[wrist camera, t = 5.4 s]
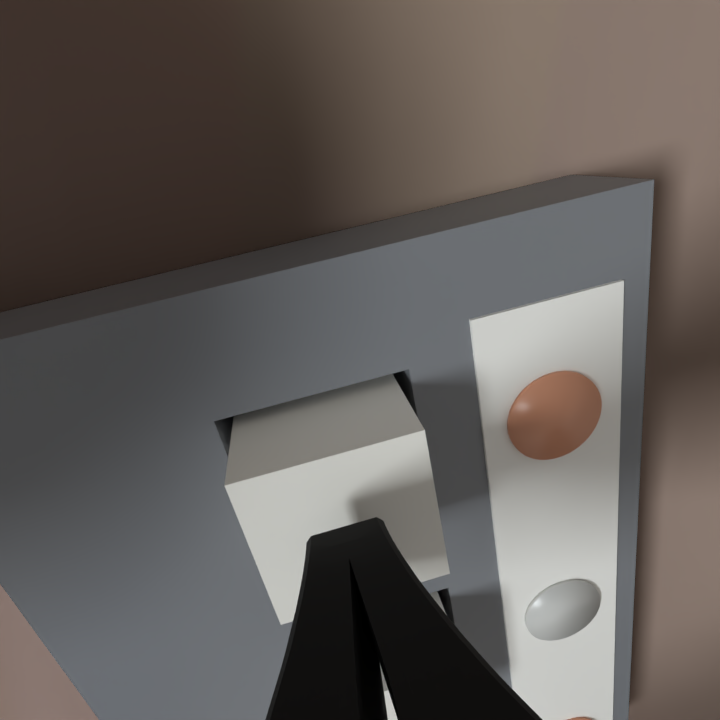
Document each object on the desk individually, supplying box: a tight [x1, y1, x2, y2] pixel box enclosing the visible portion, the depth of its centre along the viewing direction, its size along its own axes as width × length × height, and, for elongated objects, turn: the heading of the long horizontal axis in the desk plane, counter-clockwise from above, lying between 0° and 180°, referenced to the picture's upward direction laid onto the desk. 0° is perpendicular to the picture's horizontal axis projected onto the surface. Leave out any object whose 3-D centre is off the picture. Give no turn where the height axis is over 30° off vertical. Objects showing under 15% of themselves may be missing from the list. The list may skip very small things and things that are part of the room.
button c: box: [224, 374, 450, 625], centre depth 11 cm, size 4×4×3 cm
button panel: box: [0, 175, 654, 720], centre depth 16 cm, size 16×24×3 cm, turn 12°
